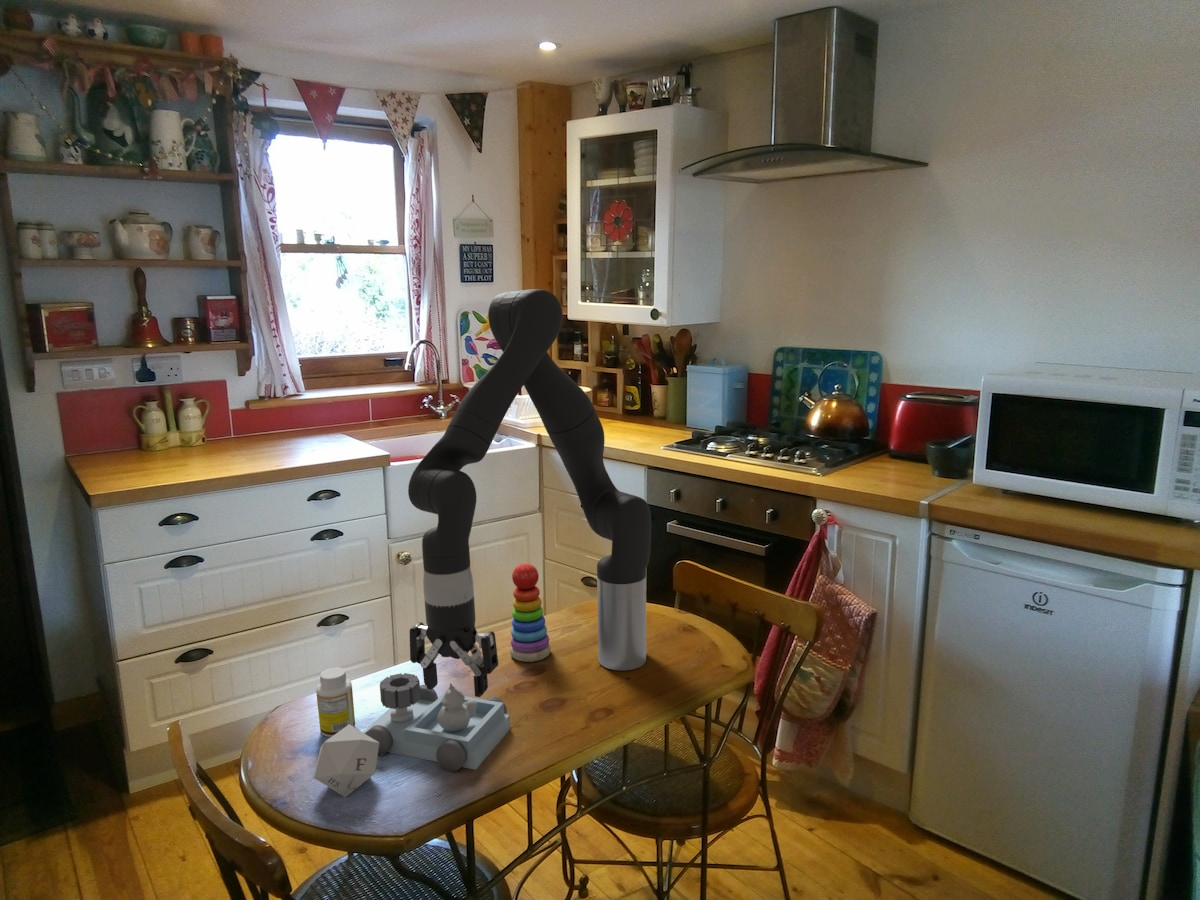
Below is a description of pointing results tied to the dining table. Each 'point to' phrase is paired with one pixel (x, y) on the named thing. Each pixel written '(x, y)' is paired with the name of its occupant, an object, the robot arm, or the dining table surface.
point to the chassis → (441, 732)
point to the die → (347, 760)
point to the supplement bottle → (334, 701)
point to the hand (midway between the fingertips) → (456, 690)
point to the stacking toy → (528, 617)
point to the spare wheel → (400, 690)
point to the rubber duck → (455, 710)
